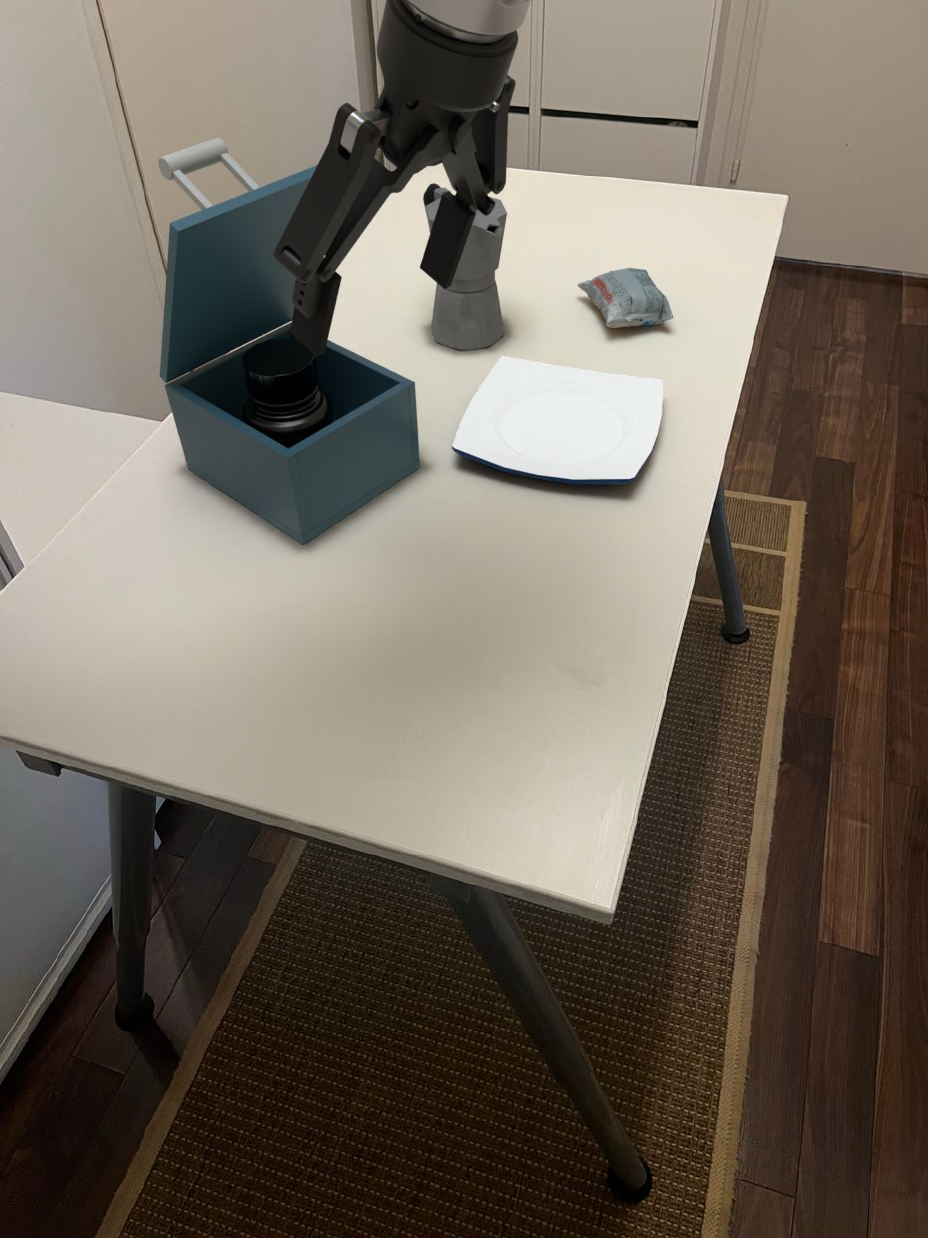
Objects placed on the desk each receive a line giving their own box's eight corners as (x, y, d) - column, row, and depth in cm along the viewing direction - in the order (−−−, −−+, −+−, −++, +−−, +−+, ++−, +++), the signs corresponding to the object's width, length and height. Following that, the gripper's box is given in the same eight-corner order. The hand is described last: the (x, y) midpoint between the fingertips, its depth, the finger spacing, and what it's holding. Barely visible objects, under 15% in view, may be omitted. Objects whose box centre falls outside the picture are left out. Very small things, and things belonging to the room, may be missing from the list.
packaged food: (604, 343, 112) (608, 304, 108) (575, 297, 120) (579, 260, 117) (672, 335, 113) (678, 297, 110) (639, 291, 121) (644, 254, 118)
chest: (420, 467, 95) (415, 381, 88) (303, 545, 87) (287, 458, 80) (304, 404, 104) (291, 321, 97) (188, 469, 96) (164, 384, 89)
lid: (330, 170, 80) (263, 100, 81) (177, 231, 72) (106, 153, 73) (293, 320, 96) (238, 261, 97) (166, 383, 88) (107, 318, 89)
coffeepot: (529, 343, 112) (535, 191, 99) (463, 366, 109) (461, 212, 96) (461, 293, 121) (459, 148, 108) (399, 313, 118) (388, 165, 105)
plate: (670, 397, 104) (674, 376, 102) (638, 508, 90) (641, 486, 88) (495, 370, 108) (496, 350, 106) (439, 472, 95) (439, 451, 93)
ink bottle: (341, 487, 92) (326, 380, 83) (251, 495, 91) (227, 388, 82) (338, 431, 98) (324, 327, 90) (254, 438, 98) (232, 334, 89)
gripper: (343, 96, 43) (283, 410, 60) (630, 5, 57) (514, 282, 74) (234, 4, 44) (206, 338, 61) (540, -63, 58) (447, 225, 75)
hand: (374, 308), depth 68 cm, fingers open, 13 cm apart
